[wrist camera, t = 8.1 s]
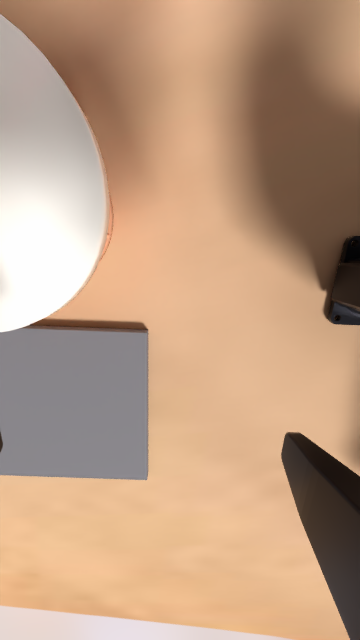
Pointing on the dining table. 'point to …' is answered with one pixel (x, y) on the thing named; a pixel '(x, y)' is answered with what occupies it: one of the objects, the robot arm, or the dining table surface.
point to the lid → (45, 187)
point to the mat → (74, 402)
